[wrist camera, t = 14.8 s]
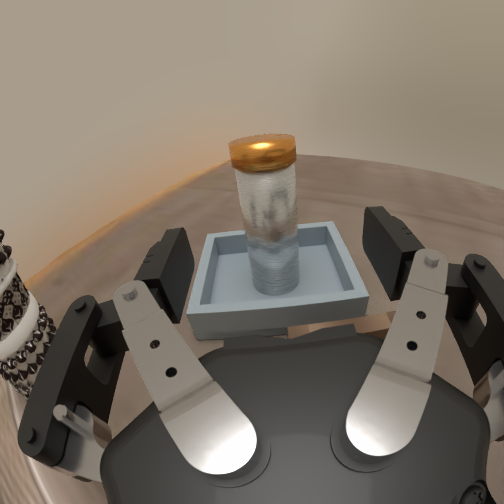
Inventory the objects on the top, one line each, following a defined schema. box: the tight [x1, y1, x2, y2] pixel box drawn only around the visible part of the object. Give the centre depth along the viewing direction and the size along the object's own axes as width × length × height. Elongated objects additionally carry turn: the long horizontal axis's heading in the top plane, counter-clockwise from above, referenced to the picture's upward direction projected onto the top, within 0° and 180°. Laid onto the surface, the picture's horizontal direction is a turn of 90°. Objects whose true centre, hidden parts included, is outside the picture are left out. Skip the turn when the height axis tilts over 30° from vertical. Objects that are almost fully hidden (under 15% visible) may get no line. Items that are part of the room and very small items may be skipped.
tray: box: [186, 221, 369, 340], centre depth 27 cm, size 15×13×4 cm
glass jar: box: [228, 134, 300, 296], centre depth 24 cm, size 5×5×14 cm
